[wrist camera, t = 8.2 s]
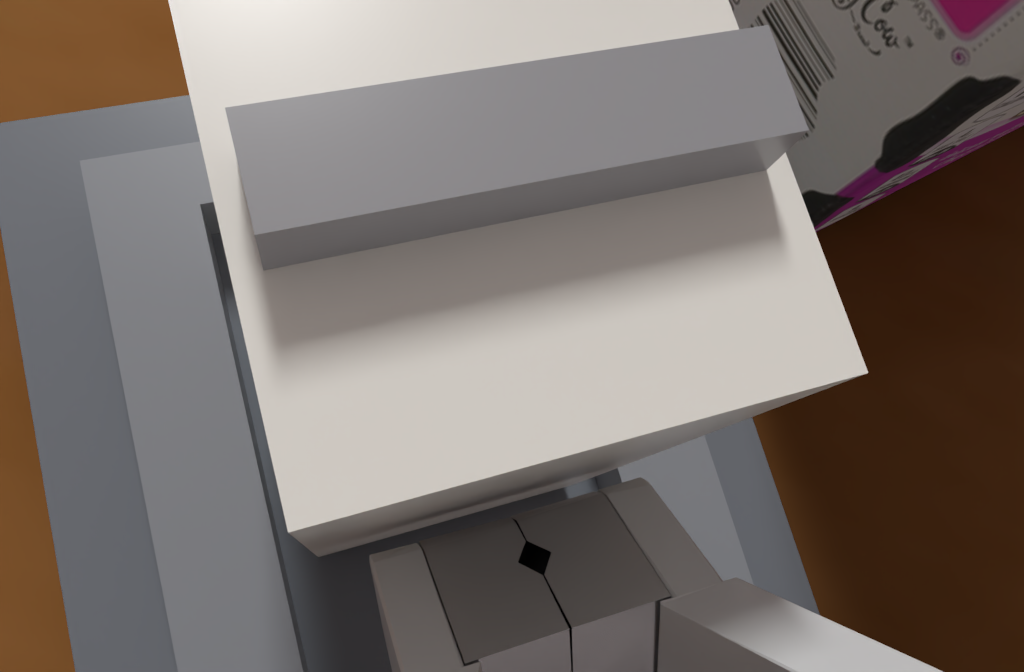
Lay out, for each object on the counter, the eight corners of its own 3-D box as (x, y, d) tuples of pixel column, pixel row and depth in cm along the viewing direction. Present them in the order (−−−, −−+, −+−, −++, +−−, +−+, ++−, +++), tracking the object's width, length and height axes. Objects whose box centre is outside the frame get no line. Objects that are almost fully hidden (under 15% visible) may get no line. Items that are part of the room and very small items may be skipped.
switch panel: (988, 1203, 13) (1109, 1320, 11) (261, 1625, 11) (243, 1882, 9) (604, 61, 17) (640, -9, 15) (5, 154, 15) (-49, 85, 13)
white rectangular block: (574, 484, 14) (922, 351, 5) (318, 557, 13) (283, 528, 4) (504, 249, 14) (720, -172, 6) (259, 300, 13) (136, -122, 5)
